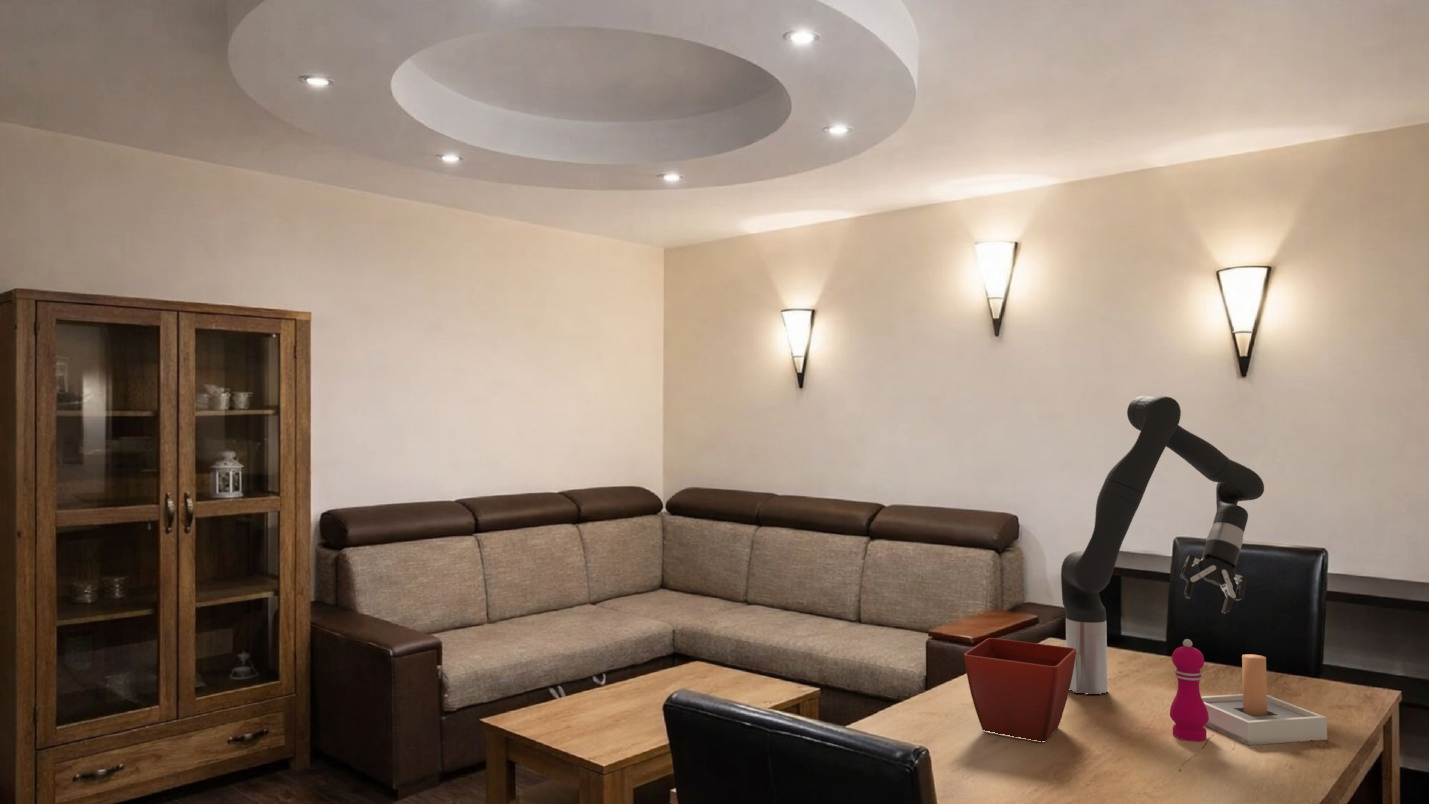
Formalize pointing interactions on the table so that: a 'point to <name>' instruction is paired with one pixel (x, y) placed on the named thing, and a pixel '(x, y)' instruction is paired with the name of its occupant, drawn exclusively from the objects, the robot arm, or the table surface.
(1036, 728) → the plant pot
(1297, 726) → the tray
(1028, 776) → the table surface
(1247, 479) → the robot arm
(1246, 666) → the peg
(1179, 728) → the pepper mill
